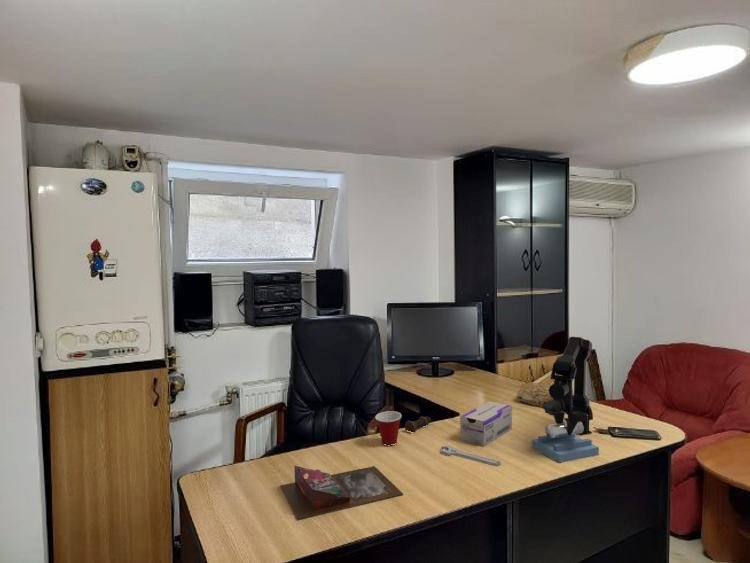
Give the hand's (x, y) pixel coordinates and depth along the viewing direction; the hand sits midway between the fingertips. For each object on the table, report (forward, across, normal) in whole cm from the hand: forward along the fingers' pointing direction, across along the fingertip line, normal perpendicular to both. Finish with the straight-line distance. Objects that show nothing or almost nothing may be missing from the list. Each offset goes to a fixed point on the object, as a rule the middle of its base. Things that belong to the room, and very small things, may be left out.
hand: (564, 432), depth 193 cm
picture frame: (+8, -1, -89) cm, 90 cm away
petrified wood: (+8, -53, +29) cm, 61 cm away
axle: (+1, 0, 0) cm, 1 cm away
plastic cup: (+7, -33, -60) cm, 69 cm away
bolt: (+8, -45, -41) cm, 61 cm away
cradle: (+7, 0, 0) cm, 7 cm away
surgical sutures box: (+8, -26, -18) cm, 33 cm away
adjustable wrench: (+8, -8, -38) cm, 39 cm away
